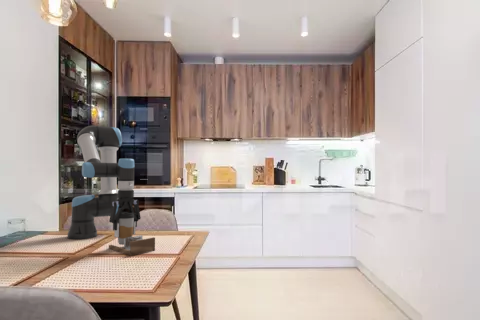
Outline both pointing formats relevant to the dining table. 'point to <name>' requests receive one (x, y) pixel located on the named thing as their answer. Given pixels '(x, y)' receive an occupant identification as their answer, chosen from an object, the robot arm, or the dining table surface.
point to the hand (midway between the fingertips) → (125, 235)
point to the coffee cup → (125, 226)
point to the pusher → (130, 239)
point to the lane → (137, 247)
